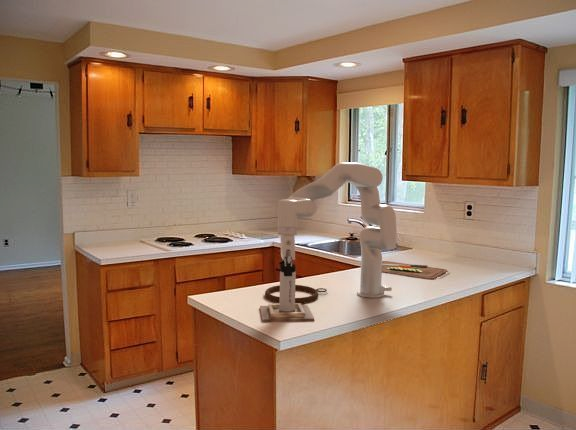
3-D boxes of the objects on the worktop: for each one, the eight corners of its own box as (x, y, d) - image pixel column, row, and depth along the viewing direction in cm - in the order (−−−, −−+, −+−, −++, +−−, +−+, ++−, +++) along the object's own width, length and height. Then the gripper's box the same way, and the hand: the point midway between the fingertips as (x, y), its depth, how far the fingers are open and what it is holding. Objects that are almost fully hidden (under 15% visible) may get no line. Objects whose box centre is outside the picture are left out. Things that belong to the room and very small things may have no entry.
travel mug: (281, 308, 212) (281, 260, 210) (296, 310, 211) (297, 261, 208) (276, 313, 207) (277, 263, 204) (292, 314, 205) (293, 265, 202)
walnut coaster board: (307, 307, 218) (307, 301, 218) (314, 320, 201) (314, 314, 200) (259, 308, 216) (260, 302, 216) (262, 322, 198) (262, 315, 198)
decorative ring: (339, 294, 230) (277, 300, 219) (339, 300, 231) (277, 307, 219) (315, 281, 253) (257, 286, 241) (315, 287, 253) (257, 293, 241)
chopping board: (358, 269, 294) (358, 264, 293) (379, 262, 316) (379, 257, 315) (436, 281, 268) (437, 276, 268) (453, 272, 290) (453, 267, 290)
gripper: (299, 234, 196) (298, 278, 198) (294, 227, 213) (293, 268, 215) (279, 234, 196) (279, 278, 198) (275, 227, 213) (275, 268, 215)
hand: (286, 273), depth 206 cm, fingers open, 9 cm apart
